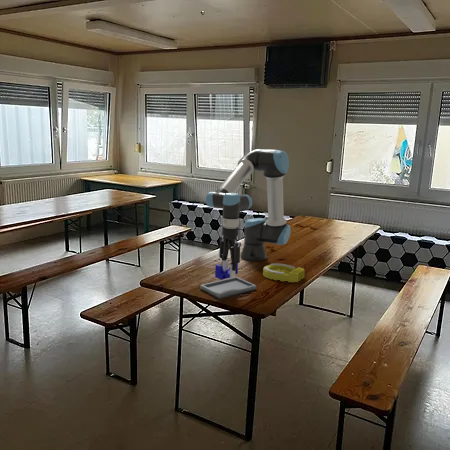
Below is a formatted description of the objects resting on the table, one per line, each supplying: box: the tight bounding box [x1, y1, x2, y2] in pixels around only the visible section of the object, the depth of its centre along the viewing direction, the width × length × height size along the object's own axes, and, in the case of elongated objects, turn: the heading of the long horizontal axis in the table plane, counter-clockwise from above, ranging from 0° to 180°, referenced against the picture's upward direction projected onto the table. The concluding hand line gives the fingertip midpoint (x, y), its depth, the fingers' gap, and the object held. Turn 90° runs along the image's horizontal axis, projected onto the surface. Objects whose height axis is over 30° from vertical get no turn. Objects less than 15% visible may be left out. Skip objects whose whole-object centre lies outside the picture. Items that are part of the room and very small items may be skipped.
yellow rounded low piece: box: [262, 263, 305, 283], centre depth 236 cm, size 16×21×5 cm
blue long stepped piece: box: [214, 263, 239, 280], centre depth 213 cm, size 12×4×6 cm, turn 135°
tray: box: [199, 276, 257, 300], centre depth 215 cm, size 22×15×2 cm
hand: (228, 275), depth 214 cm, fingers closed on blue long stepped piece, 5 cm apart
